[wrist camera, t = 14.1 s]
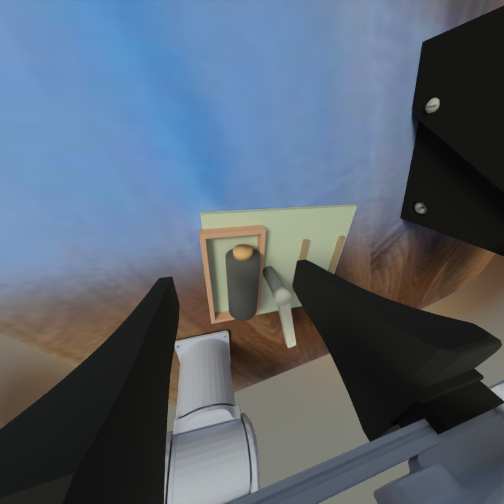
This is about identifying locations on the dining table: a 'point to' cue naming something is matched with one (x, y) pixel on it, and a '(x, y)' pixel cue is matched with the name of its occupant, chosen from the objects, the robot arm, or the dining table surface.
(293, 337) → the lever handle
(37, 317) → the dining table surface
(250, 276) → the grey cylinder
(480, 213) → the electrical component
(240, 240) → the board
